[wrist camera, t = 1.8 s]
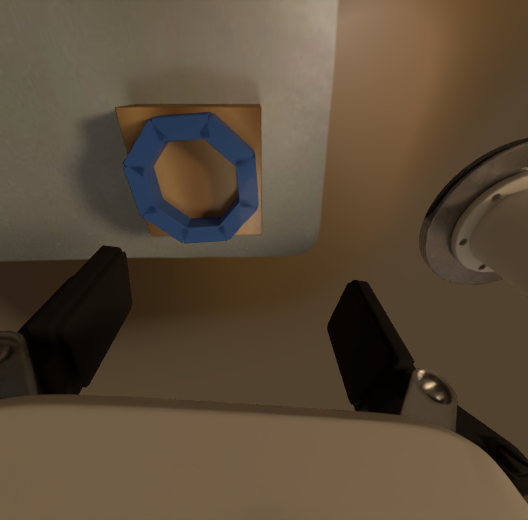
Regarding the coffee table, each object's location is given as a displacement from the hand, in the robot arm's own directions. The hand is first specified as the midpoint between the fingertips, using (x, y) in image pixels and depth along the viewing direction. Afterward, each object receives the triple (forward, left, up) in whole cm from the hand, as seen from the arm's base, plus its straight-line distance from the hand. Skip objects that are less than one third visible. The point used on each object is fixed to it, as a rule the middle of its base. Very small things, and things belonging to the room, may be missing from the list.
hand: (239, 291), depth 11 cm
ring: (+3, +2, -14) cm, 15 cm away
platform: (+3, +2, -18) cm, 19 cm away
